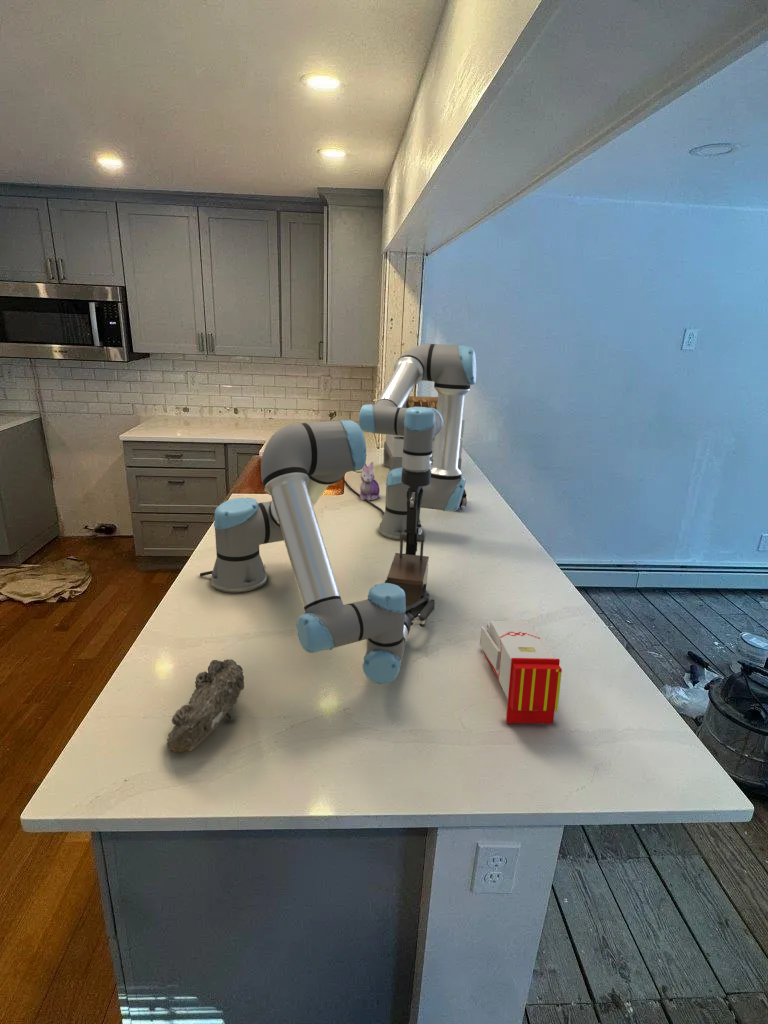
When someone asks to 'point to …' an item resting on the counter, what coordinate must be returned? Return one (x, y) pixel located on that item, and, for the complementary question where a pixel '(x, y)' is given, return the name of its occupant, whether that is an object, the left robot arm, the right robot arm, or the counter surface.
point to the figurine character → (463, 500)
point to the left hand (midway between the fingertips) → (405, 586)
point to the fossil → (206, 705)
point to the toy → (523, 670)
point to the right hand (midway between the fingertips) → (411, 552)
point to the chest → (412, 591)
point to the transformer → (395, 442)
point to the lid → (408, 565)
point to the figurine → (369, 484)
